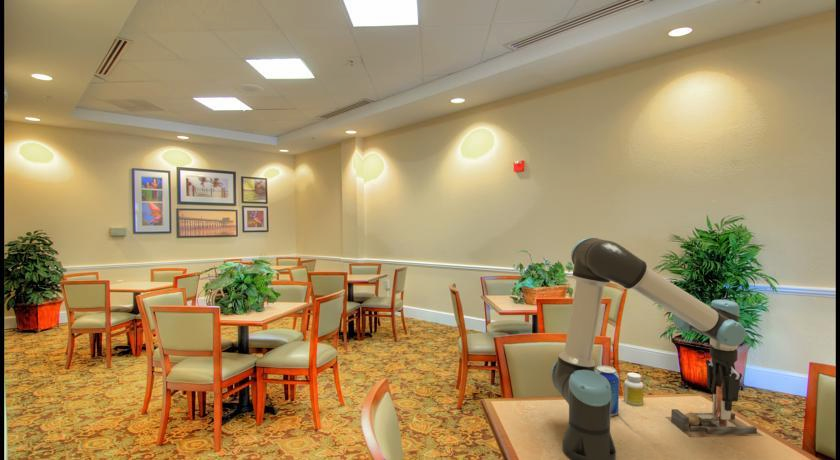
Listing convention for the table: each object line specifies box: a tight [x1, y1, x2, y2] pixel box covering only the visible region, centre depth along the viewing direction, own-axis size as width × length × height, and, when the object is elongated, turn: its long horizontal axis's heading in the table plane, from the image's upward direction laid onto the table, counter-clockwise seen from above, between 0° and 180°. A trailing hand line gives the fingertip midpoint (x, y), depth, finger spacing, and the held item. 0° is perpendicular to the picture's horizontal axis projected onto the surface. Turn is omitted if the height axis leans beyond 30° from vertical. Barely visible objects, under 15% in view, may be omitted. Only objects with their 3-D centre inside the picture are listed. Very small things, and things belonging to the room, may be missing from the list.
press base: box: [665, 408, 764, 438], centre depth 142 cm, size 24×13×6 cm, turn 92°
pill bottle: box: [623, 372, 645, 407], centre depth 159 cm, size 6×6×12 cm
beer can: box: [594, 365, 620, 418], centre depth 154 cm, size 8×8×16 cm
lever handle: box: [697, 385, 736, 427], centre depth 142 cm, size 10×7×13 cm
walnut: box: [684, 412, 700, 426], centre depth 142 cm, size 4×4×4 cm
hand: (721, 415), depth 142 cm, fingers closed on lever handle, 3 cm apart
